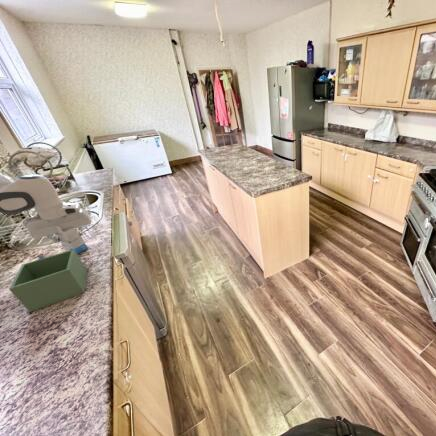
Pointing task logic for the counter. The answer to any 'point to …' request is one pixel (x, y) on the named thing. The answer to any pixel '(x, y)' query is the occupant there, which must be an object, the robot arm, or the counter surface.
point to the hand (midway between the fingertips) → (70, 238)
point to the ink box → (71, 239)
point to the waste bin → (49, 280)
